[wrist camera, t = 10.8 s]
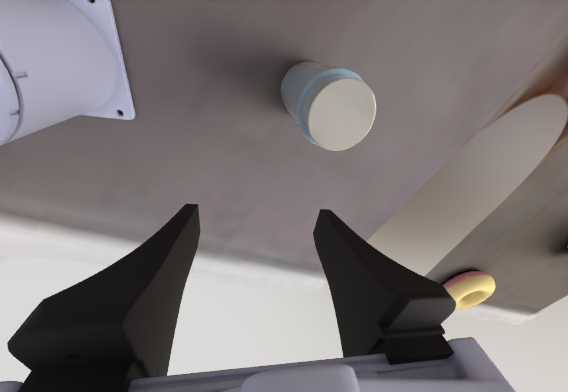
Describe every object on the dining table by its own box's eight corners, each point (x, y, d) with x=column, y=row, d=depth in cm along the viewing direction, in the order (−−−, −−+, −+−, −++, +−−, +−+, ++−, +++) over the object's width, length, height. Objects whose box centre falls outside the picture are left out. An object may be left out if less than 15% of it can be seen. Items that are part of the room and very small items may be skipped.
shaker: (277, 113, 20) (295, 152, 12) (284, 57, 17) (312, 63, 10) (322, 119, 20) (365, 159, 13) (335, 66, 18) (396, 78, 11)
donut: (478, 269, 45) (468, 258, 39) (503, 287, 41) (497, 279, 36) (440, 300, 47) (426, 294, 42) (462, 320, 43) (449, 317, 38)
